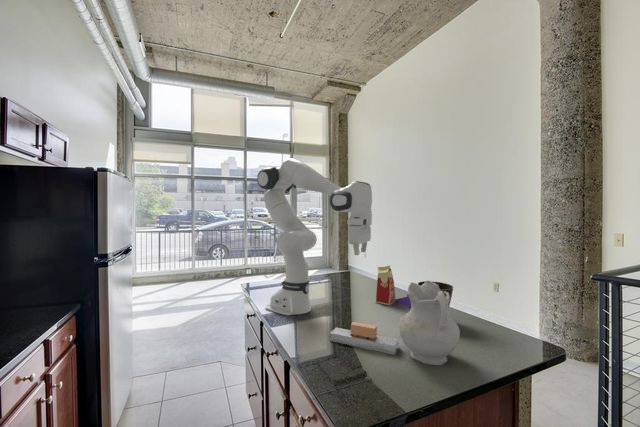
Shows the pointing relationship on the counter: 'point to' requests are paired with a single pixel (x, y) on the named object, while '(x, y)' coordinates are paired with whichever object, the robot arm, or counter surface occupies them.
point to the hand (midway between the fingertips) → (360, 253)
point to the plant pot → (442, 288)
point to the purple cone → (404, 301)
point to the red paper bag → (385, 286)
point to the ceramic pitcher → (429, 325)
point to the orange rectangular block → (364, 330)
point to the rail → (365, 341)
